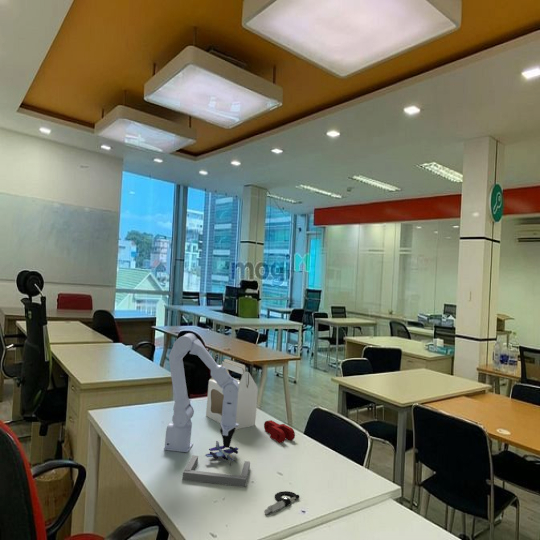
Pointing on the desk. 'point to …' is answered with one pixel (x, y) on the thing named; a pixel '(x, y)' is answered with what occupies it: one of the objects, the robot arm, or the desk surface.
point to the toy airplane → (222, 452)
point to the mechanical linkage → (279, 431)
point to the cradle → (215, 475)
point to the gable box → (245, 399)
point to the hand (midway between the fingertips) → (226, 447)
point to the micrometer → (281, 501)
